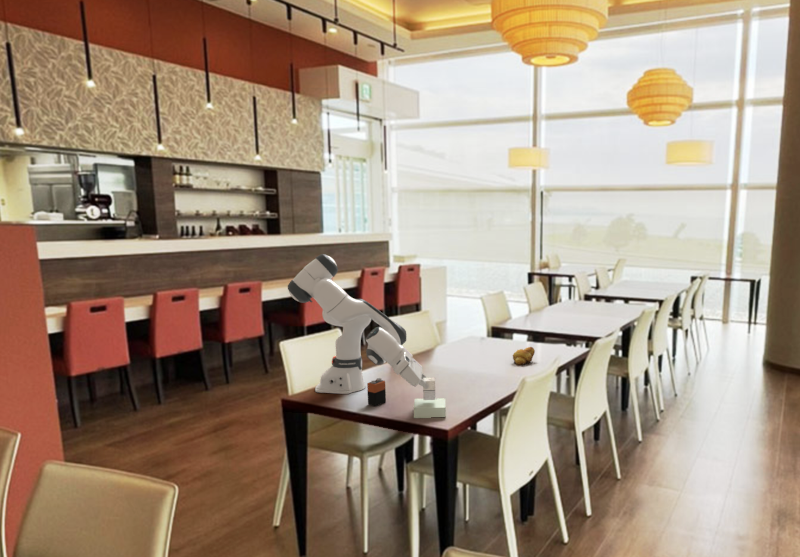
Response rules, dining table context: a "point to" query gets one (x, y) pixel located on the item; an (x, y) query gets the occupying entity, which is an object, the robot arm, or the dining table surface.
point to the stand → (429, 408)
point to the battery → (376, 392)
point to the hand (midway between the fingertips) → (428, 385)
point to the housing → (429, 389)
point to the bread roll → (523, 355)
